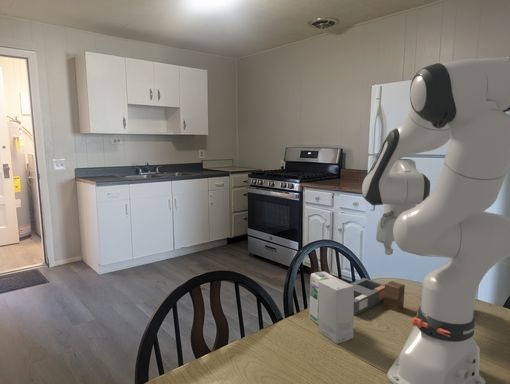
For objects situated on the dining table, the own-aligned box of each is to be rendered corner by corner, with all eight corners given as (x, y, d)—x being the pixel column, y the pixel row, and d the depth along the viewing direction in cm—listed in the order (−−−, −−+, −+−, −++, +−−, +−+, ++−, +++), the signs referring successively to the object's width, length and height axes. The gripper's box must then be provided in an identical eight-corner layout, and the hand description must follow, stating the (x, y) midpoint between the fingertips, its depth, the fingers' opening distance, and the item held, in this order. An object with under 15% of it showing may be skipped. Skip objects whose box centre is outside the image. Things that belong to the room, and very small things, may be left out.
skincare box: (353, 339, 99) (356, 286, 97) (335, 345, 96) (337, 290, 94) (333, 325, 107) (335, 275, 105) (316, 331, 104) (317, 279, 101)
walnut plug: (396, 311, 115) (397, 288, 114) (383, 307, 119) (385, 284, 118) (403, 307, 118) (404, 284, 117) (390, 303, 122) (392, 280, 121)
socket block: (355, 316, 112) (356, 302, 112) (329, 304, 120) (329, 291, 120) (388, 298, 125) (389, 285, 125) (363, 289, 133) (363, 277, 132)
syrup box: (308, 317, 112) (309, 273, 109) (323, 313, 114) (325, 270, 112) (319, 326, 106) (320, 279, 104) (335, 322, 109) (336, 276, 107)
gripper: (391, 215, 105) (388, 260, 107) (423, 207, 118) (420, 247, 120) (372, 212, 110) (370, 255, 112) (404, 204, 123) (402, 243, 125)
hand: (396, 251), depth 116 cm, fingers open, 8 cm apart
